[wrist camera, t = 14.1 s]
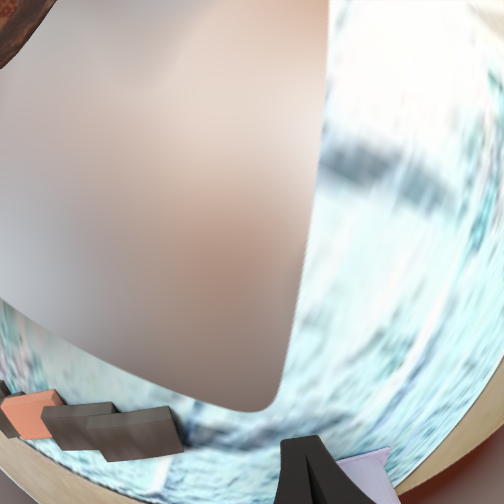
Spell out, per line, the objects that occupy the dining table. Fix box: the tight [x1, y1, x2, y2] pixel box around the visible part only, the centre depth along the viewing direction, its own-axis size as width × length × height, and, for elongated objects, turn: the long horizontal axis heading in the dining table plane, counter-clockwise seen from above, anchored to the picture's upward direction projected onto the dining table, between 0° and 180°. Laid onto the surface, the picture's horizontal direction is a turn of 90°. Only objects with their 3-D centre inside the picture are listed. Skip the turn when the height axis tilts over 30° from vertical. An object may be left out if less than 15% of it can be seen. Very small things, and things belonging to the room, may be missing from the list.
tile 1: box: [86, 406, 184, 462], centre depth 18 cm, size 4×2×7 cm
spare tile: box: [1, 389, 64, 440], centre depth 18 cm, size 4×2×7 cm
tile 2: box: [40, 402, 117, 451], centre depth 18 cm, size 4×2×7 cm
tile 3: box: [0, 391, 24, 439], centre depth 18 cm, size 4×2×7 cm
